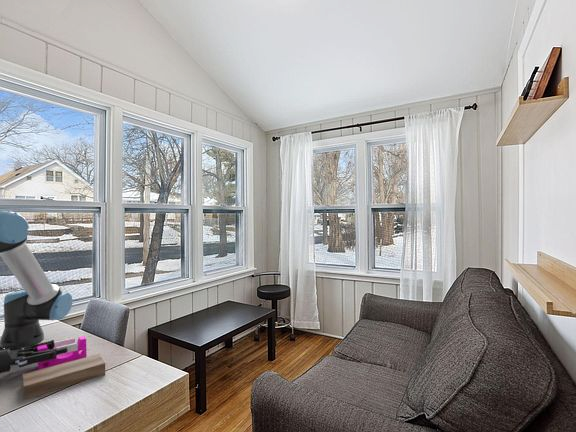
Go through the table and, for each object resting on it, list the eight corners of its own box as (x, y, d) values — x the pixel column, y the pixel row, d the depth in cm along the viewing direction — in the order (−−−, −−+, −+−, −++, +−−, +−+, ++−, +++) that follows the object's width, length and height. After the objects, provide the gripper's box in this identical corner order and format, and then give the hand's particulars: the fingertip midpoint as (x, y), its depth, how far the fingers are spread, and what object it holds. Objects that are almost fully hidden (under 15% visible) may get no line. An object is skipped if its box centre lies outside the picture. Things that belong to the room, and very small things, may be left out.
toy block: (38, 372, 112) (38, 351, 112) (37, 366, 117) (37, 346, 117) (87, 359, 122) (87, 340, 122) (84, 354, 127) (84, 335, 127)
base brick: (22, 386, 104) (22, 374, 104) (99, 364, 118) (99, 353, 118) (24, 399, 96) (23, 386, 96) (105, 374, 111) (105, 363, 111)
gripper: (-4, 364, 114) (72, 345, 130) (-6, 385, 100) (80, 361, 116) (-5, 343, 114) (72, 327, 130) (-7, 361, 100) (80, 341, 116)
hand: (75, 343), depth 123 cm, fingers closed on toy block, 6 cm apart
